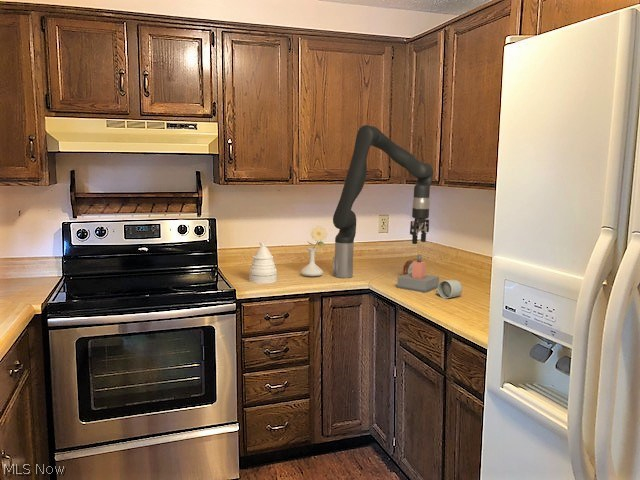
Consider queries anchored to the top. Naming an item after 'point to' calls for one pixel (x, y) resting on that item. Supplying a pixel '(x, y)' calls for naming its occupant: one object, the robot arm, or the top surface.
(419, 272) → the plug
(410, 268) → the tin
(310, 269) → the flower in vase
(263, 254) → the honey pot
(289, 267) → the top surface
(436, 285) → the socket block
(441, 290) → the ceramic mug
